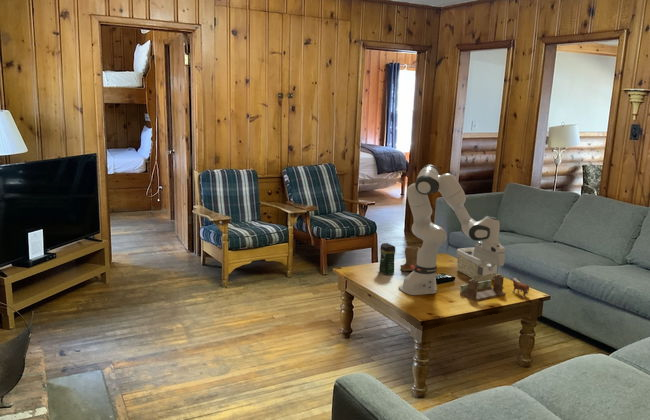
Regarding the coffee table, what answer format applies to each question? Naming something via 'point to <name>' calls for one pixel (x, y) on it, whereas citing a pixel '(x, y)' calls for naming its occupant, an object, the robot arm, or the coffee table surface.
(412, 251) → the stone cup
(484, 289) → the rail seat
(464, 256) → the storage basket
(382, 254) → the coffee jar
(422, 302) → the coffee table surface
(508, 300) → the coffee table surface
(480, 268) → the rail bar
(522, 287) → the bull figurine
